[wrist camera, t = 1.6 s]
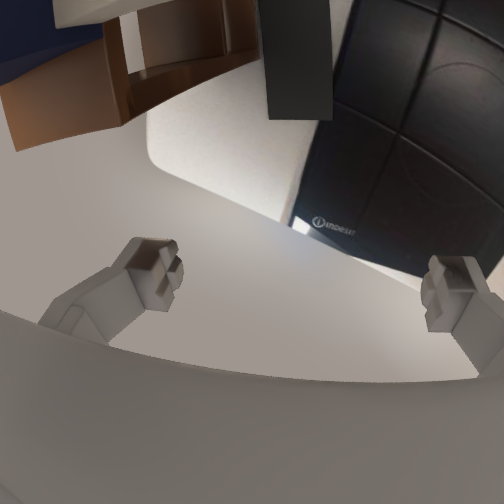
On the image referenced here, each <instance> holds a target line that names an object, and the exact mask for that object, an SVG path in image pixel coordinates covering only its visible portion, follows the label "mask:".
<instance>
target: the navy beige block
mask: <svg viewBox="0 0 504 504" xmlns="http://www.w3.org/2000/svg"><path fill="white" fill-rule="evenodd" d="M168 1H172V0H0V86H2V85H4V84H7V83H9V82H11V81H13V80H14V79H16V78H18V77H20V76H21V75H23V74H25V73H27V72H29V71H30V70H32V69H34V68H36V67H38V66H40V65H42V64H44V63H46V62H48V61H50V60H52V59H54V58H56V57H58V56H60V55H62V54H65V53H67V52H69V51H71V50H74V49H76V48H78V47H81V46H83V45H86V44H88V43H91V42H93V41H96V40H98V39H101V38H103V30H102V22H105V21H108V20H110V19H113V18H116V17H118V16H121V15H124V14H127V13H130V12H133V11H136V10H139V9H143V8H146V7H149V6H153V5H156V4H160V3H164V2H168Z"/></svg>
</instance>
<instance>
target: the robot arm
mask: <svg viewBox="0 0 504 504" xmlns="http://www.w3.org/2000/svg"><path fill="white" fill-rule="evenodd" d="M178 250H179V249H178V246H177V243H176V242H175V241H174V240H172V239H158V238H141V237H135V238H132V239H131V240H130V241H129V243H128V244H127V245H126V247H125V248H124V250H123V251H122V252H121V254H120V255H119V256H118V258H117V259H116V260H115V262H114V263H113V265H112V266H111V267H106V268H104V269H103V270H101V271H99V272H98V273H96V274H94V275H93V276H91V277H89V278H88V279H86V280H84V281H83V282H81V283H79V284H78V285H76V286H74V287H73V288H71V289H69V290H68V291H66V292H65V293H63V294H61V295H60V296H58V297H57V298H55V299H54V300H53V302H52V303H51V304H50V306H49V308H48V309H47V310H46V312H45V313H44V315H43V316H42V318H41V319H40V321H39V322H38V324H36V323H33V322H30V321H28V320H25V319H22V318H19V317H17V316H14V315H12V314H9V313H7V312H4V311H2V310H0V504H504V301H503V300H502V299H501V298H500V297H499V296H497V295H496V294H495V293H491V292H490V290H489V287H488V285H487V283H486V280H485V278H484V276H483V274H482V272H481V269H480V267H479V265H478V263H477V261H476V259H475V258H474V257H468V256H460V257H457V256H441V255H433V256H432V257H431V259H430V261H429V264H428V266H429V269H430V271H429V272H428V273H427V274H426V275H424V278H423V281H422V284H421V300H422V305H423V306H425V308H426V309H427V312H426V314H425V318H426V322H427V327H428V332H449V333H451V335H452V336H453V337H454V339H455V340H456V341H457V343H458V344H459V345H460V347H461V348H462V350H463V351H464V352H465V354H466V355H467V356H468V358H469V359H470V361H471V362H472V364H473V365H474V366H475V368H476V369H477V371H478V372H479V375H478V377H477V378H473V379H461V380H450V381H449V380H448V381H432V382H404V383H363V382H334V381H316V380H303V379H292V378H281V377H272V376H263V375H255V374H247V373H239V372H232V371H225V370H219V369H212V368H207V367H201V366H196V365H190V364H185V363H180V362H175V361H170V360H165V359H160V358H155V357H151V356H146V355H142V354H138V353H134V352H130V351H125V350H122V349H118V348H114V347H110V346H109V344H108V342H109V341H110V340H111V339H112V338H114V337H115V336H116V335H117V334H118V333H119V332H121V331H122V330H123V329H124V328H125V327H127V326H128V325H129V324H130V323H131V322H132V321H134V320H135V319H136V318H137V317H138V316H140V315H141V314H142V313H143V312H144V311H145V309H147V310H154V311H162V312H168V310H169V308H170V306H171V304H172V302H173V299H174V294H173V291H175V290H176V289H178V288H179V287H180V285H181V282H182V279H183V274H184V273H183V264H182V260H181V259H180V258H179V257H178V256H177V255H176V254H177V252H178Z"/></svg>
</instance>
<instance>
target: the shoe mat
mask: <svg viewBox="0 0 504 504" xmlns="http://www.w3.org/2000/svg"><path fill="white" fill-rule="evenodd" d="M259 8H260V18H261V29H262V40H263V52H264V64H265V76H266V88H267V102H268V115H269V120H327V121H333V68H332V41H331V22H330V8H329V0H259Z"/></svg>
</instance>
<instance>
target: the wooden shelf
mask: <svg viewBox="0 0 504 504" xmlns="http://www.w3.org/2000/svg"><path fill="white" fill-rule="evenodd" d="M137 15H138V22H139V30H140V36H141V43H142V50H143V56H144V63H145V68H146V69H144V70H140V71H137V72H134V73H131V74H128V70H127V65H126V59H125V53H124V47H123V40H122V34H121V27H120V19H119V16H118V17H116V18H113V19H110V20H108V21H105V22H102V30H103V38H101V39H98V40H96V41H93V42H91V43H88V44H86V45H83V46H81V47H78V48H76V49H74V50H71V51H69V52H67V53H65V54H62V55H60V56H58V57H56V58H54V59H52V60H50V61H48V62H46V63H44V64H42V65H40V66H38V67H36V68H34V69H32V70H30V71H29V72H27V73H25V74H23V75H21V76H20V77H18V78H16V79H14V80H13V81H11V82H9V83H7V84H4V85H2V86H0V96H1V100H2V104H3V108H4V112H5V116H6V119H7V123H8V126H9V130H10V133H11V137H12V140H13V143H14V146H15V149H16V151H17V152H18V151H21V150H24V149H27V148H31V147H34V146H38V145H41V144H45V143H49V142H52V141H56V140H60V139H64V138H68V137H72V136H77V135H81V134H85V133H90V132H95V131H100V130H104V129H110V128H115V127H121V126H123V125H124V124H126V123H128V122H129V121H131V120H133V119H134V118H136V117H138V116H140V115H141V114H143V113H145V112H147V111H148V110H150V109H152V108H154V107H156V106H157V105H159V104H161V103H163V102H165V101H167V100H169V99H171V98H173V97H174V96H176V95H178V94H180V93H182V92H184V91H186V90H188V89H190V88H193V87H195V86H197V85H199V84H201V83H203V82H205V81H208V80H210V79H212V78H214V77H216V76H219V75H221V74H223V73H226V72H228V71H230V70H233V69H235V68H238V67H240V66H243V65H245V64H248V63H250V62H253V61H256V60H258V59H260V52H259V41H258V30H257V20H256V10H255V0H172V1H168V2H164V3H160V4H156V5H153V6H149V7H146V8H143V9H139V10H137Z"/></svg>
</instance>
